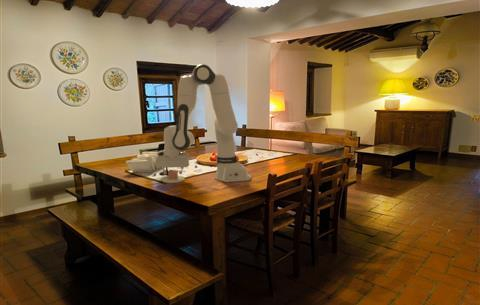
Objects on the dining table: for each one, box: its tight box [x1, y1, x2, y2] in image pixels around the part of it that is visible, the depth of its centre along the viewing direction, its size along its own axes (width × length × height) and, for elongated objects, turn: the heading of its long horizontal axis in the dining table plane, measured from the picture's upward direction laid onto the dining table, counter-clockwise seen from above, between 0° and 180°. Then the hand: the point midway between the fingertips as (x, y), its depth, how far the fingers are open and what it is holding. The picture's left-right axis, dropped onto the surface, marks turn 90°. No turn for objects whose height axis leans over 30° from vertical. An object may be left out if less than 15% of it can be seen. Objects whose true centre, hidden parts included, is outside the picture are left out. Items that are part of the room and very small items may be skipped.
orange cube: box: [167, 169, 179, 180], centre depth 191 cm, size 5×5×5 cm
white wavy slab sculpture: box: [125, 151, 160, 174], centre depth 221 cm, size 35×16×11 cm, turn 166°
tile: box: [161, 175, 185, 184], centre depth 192 cm, size 14×14×1 cm
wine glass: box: [157, 142, 169, 176], centre depth 206 cm, size 10×10×20 cm
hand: (173, 174), depth 191 cm, fingers open, 8 cm apart
